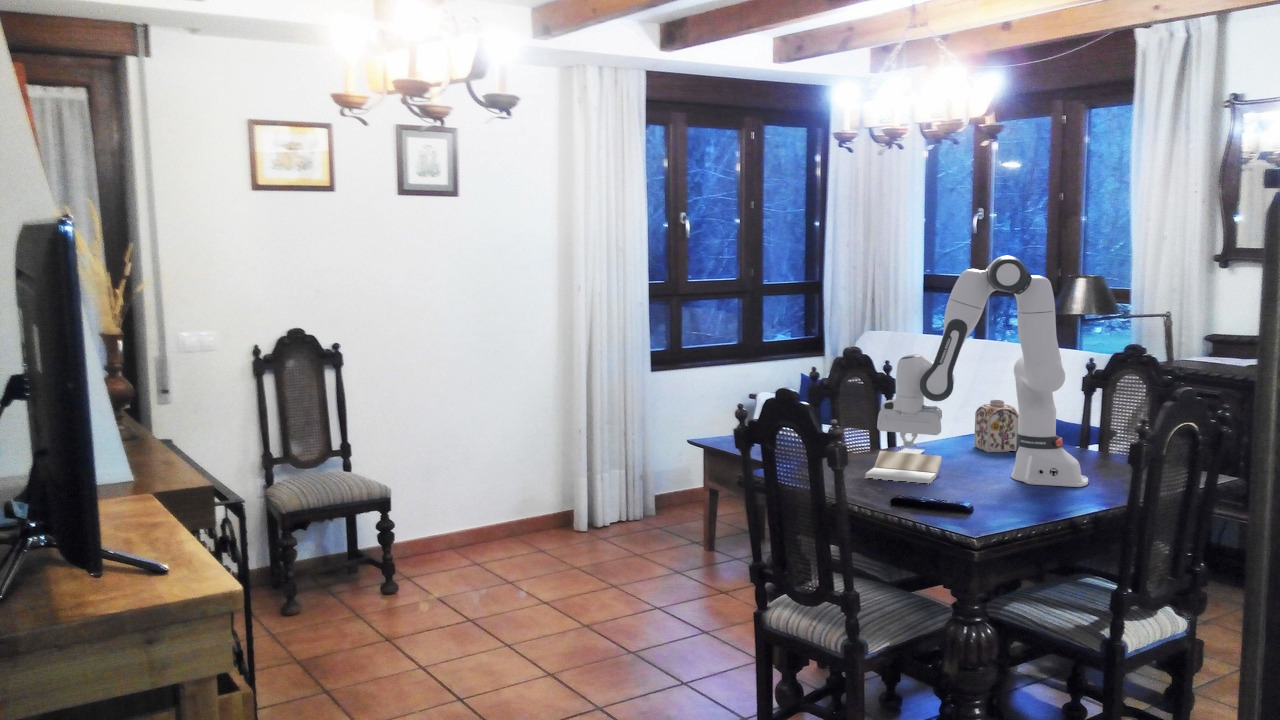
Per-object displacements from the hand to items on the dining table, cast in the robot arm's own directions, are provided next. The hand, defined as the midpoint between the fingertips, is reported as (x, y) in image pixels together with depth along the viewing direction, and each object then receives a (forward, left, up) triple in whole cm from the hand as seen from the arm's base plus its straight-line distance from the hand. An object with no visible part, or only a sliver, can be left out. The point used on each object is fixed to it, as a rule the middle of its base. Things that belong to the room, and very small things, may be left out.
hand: (908, 446), depth 336 cm
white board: (0, +10, -9) cm, 13 cm away
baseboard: (+8, -21, -9) cm, 24 cm away
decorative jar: (-19, -53, -9) cm, 57 cm away
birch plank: (0, 0, -6) cm, 6 cm away
